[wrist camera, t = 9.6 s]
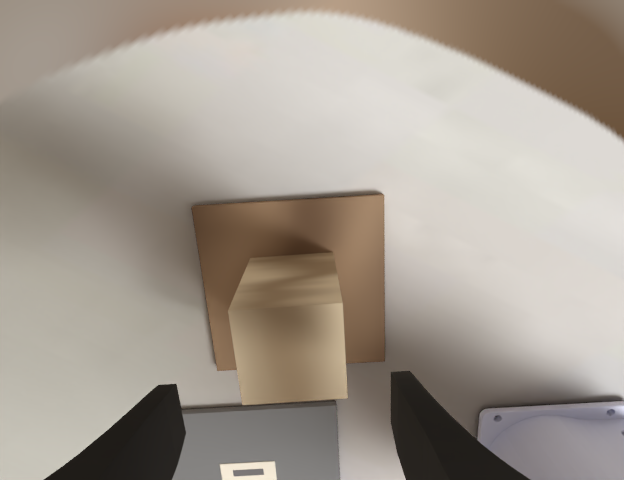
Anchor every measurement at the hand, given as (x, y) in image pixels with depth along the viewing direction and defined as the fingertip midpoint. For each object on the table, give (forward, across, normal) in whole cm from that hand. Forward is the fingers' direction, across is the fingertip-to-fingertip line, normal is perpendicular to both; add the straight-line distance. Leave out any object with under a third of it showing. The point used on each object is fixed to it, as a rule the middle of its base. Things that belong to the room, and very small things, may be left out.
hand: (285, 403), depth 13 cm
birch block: (+9, 0, 0) cm, 9 cm away
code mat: (+9, +4, +14) cm, 17 cm away
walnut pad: (+9, 0, 0) cm, 9 cm away
